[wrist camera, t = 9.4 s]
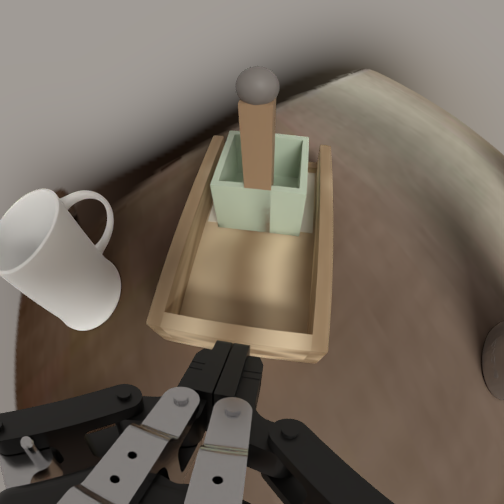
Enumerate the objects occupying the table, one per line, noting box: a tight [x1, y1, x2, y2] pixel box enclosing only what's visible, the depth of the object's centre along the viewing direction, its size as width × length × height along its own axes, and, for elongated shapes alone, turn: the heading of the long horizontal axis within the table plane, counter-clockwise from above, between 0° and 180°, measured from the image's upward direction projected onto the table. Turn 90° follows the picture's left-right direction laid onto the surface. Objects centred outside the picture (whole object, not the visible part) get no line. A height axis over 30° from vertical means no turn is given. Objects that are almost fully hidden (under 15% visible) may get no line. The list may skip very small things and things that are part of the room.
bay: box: [146, 136, 333, 363], centre depth 27 cm, size 13×22×5 cm, turn 171°
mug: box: [0, 189, 121, 331], centre depth 22 cm, size 12×8×12 cm
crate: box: [210, 66, 309, 236], centre depth 24 cm, size 8×8×16 cm
